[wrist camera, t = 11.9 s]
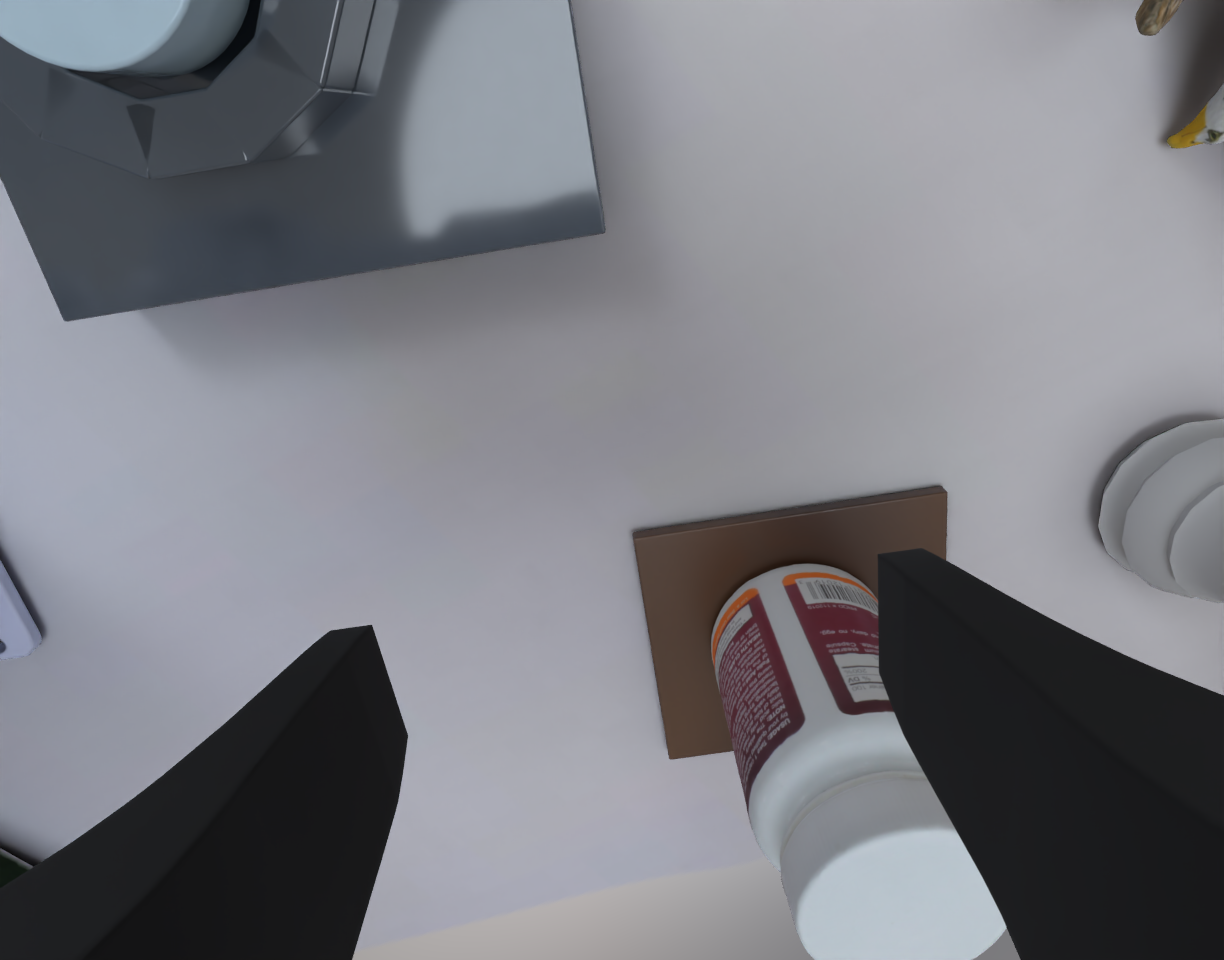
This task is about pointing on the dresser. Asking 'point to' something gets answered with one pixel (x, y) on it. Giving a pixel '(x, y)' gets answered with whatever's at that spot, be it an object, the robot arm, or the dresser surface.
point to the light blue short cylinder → (123, 33)
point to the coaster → (739, 551)
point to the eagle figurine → (1220, 113)
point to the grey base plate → (303, 151)
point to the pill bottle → (841, 777)
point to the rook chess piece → (1171, 511)
